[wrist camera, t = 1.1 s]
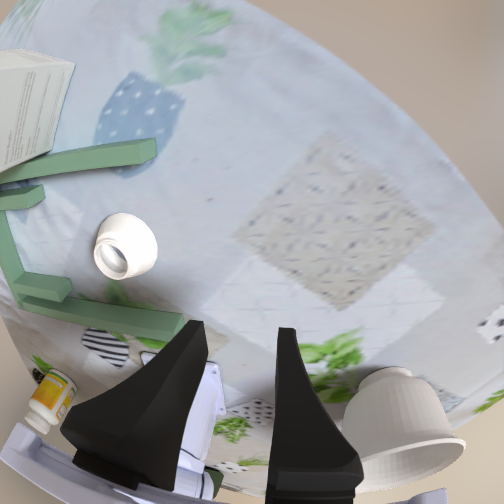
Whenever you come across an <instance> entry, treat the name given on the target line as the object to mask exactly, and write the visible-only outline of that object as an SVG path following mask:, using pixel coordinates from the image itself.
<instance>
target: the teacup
mask: <svg viewBox="0 0 504 504" xmlns="http://www.w3.org/2000/svg"><path fill="white" fill-rule="evenodd" d="M341 433H342V435H343V436H344V437H345V438H346V440H347V441H348V442H349V443H350V444H351V446H352V447H353V448H354V449H355V450H356V451H357V452H358V454H359V457H360V460H361V463H362V466H363V471H364V480H363V481H362V482H361V483H360V484H359V485H358V486H357V487H356V488H355V494H358V493H360V492H364V491H365V492H366V491H378V490H384V489H390V488H395V487H399V486H403V485H407V484H410V483H413V482H416V481H419V480H421V479H424V478H426V477H429V476H431V475H433V474H435V473H437V472H439V471H441V470H443V469H444V468H446V467H448V466H449V465H451V464H452V463H453V462H454V461H456V460H457V459H458V458H459V457H460V456H461V454H462V453H463V451H464V449H465V447H466V443H465V441H464V440H462V439H459V438H457V437H456V435H455V434H454V432H453V430H452V428H451V426H450V424H449V421H448V419H447V417H446V414H445V412H444V410H443V407H442V405H441V403H440V400H439V399H438V397H437V395H436V393H435V391H434V390H433V388H432V387H431V386H430V385H429V384H428V383H427V382H426V381H424V380H422V379H420V378H417V377H413V376H412V374H411V372H410V371H409V370H407V369H405V368H402V367H389V368H384V369H381V370H378V371H376V372H374V373H372V374H370V375H368V376H367V377H366V378H365V379H363V380H362V382H361V383H360V385H359V388H358V393H357V394H356V395H355V396H353V398H352V399H351V400H350V402H349V403H348V405H347V407H346V409H345V413H344V416H343V422H342V429H341Z"/></svg>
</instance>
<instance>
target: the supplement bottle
mask: <svg viewBox="0 0 504 504" xmlns="http://www.w3.org/2000/svg"><path fill="white" fill-rule="evenodd" d="M76 392H77V388H76V386H75V384H74V383H73V382H72V381H71V380H70V379H69V378H68V377H67V376H66V375H64V374H63V373H61V372H60V371H58V370H55V369H51V370H49V372H48V373H47V374H46V376H45V377H44V379H43V380H42V382H41V383H40V385H39V386H38V388H37V389H36V391H35V392H34V394H33V396H32V397H31V398H30V400H29V406H30V408H31V411H28V412H27V413H26V415H25V419H26V420H27V422H28V423H29V424H31V425H32V426H33V427H34V428H36V429H37V430H38V431H40V432H42V433H44V434H47V433H48V431H49V430H50V424H51V425H56V424H58V423H59V422H60V420H61V418H62V416H63V415H64V413H65V411H66V409H67V408H68V406H69V404H70V402H71V401H72V399H73V397H74V396H75V394H76Z"/></svg>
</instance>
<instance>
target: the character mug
mask: <svg viewBox="0 0 504 504" xmlns="http://www.w3.org/2000/svg"><path fill="white" fill-rule="evenodd" d="M203 471H205V472H208V473H209V475H210V477H211V479H212V481H213V485H214V491H213V498H215V497H216V495H217V493H218V491H219V488H220V486H221V483H222V480H223V477H224V475H223V474H222V473H220V472H217V471H213V470H208V469H207V468H206V467H204V470H203ZM213 498H212V501H214V500H213Z"/></svg>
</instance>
